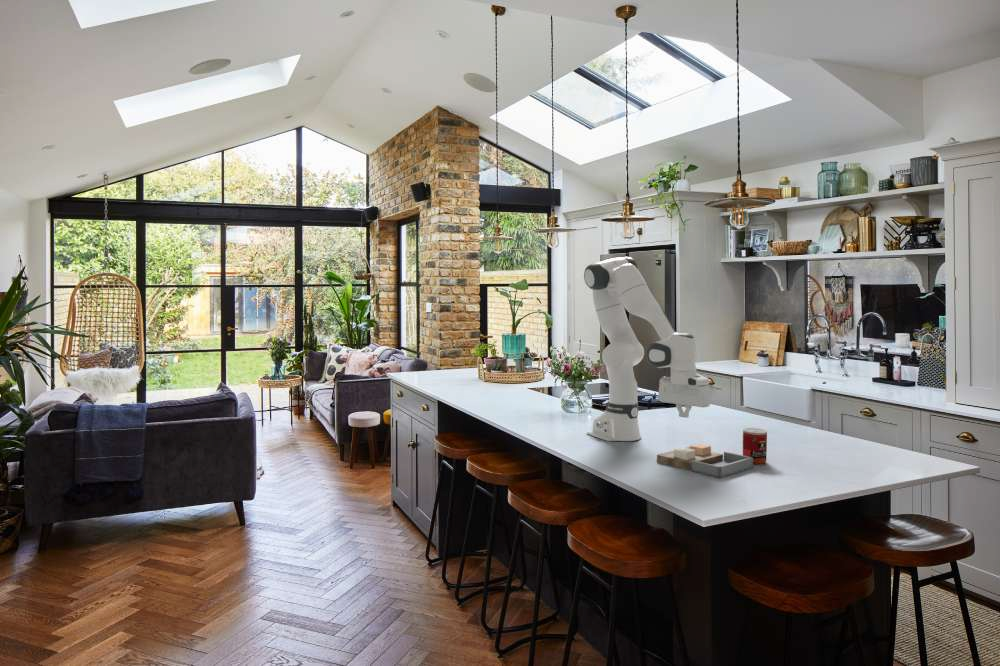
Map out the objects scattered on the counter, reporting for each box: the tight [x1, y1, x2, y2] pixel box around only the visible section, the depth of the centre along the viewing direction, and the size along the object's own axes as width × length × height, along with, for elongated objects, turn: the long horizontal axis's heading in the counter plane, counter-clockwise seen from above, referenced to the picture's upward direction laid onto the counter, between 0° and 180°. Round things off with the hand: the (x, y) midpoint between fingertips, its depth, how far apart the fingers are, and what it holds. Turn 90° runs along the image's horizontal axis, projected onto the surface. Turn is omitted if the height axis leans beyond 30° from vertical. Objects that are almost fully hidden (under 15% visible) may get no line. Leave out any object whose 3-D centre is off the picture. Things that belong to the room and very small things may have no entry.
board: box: [656, 446, 724, 472], centre depth 227 cm, size 14×18×2 cm
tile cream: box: [673, 447, 695, 460], centre depth 223 cm, size 5×5×2 cm
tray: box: [691, 451, 754, 479], centre depth 217 cm, size 10×19×4 cm, turn 128°
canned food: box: [742, 427, 768, 466], centre depth 226 cm, size 8×8×11 cm
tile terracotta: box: [689, 443, 712, 456], centre depth 228 cm, size 5×5×2 cm
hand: (683, 417), depth 233 cm, fingers closed
